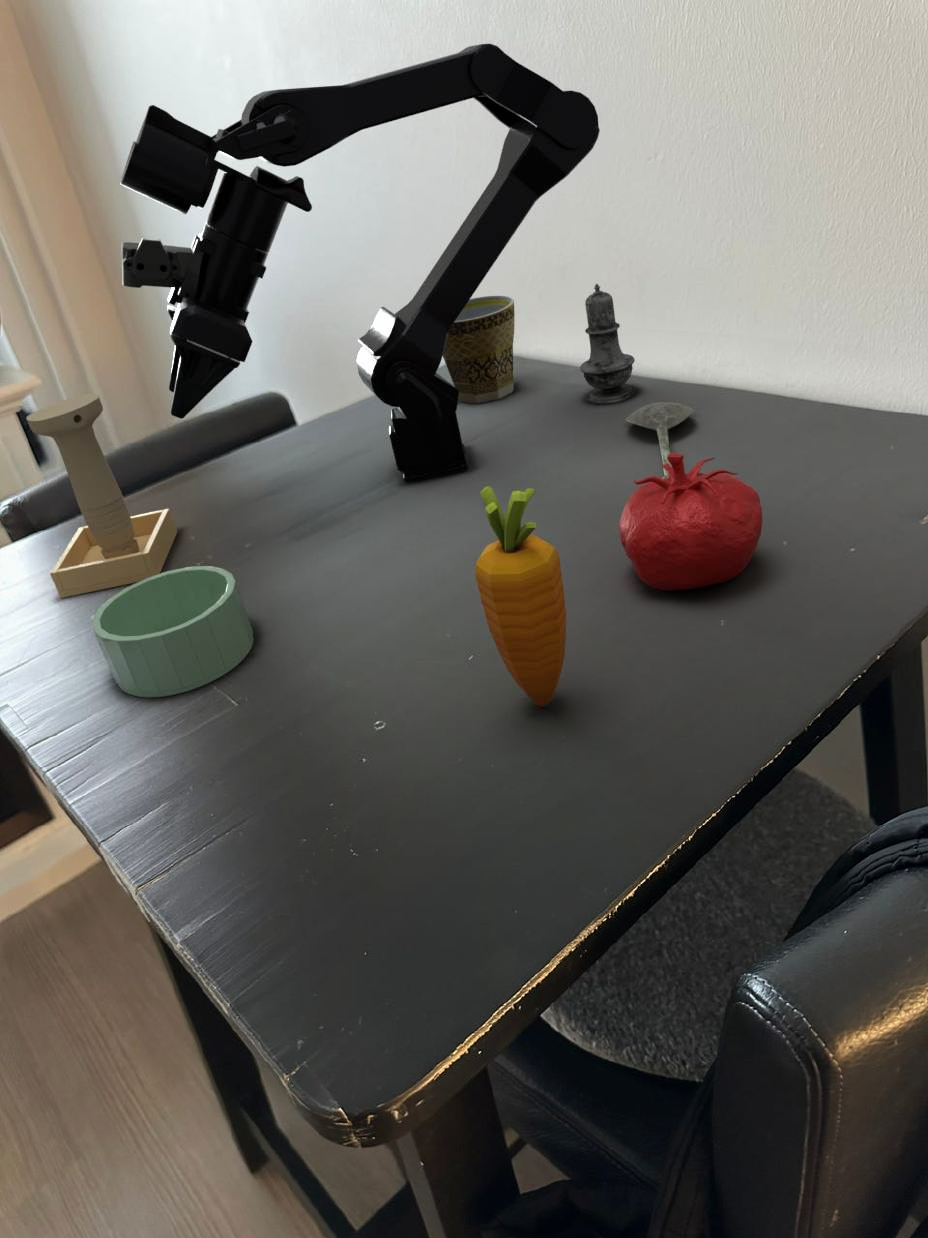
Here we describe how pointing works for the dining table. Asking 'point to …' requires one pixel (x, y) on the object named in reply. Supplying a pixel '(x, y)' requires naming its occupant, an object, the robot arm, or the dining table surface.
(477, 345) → the ceramic cup
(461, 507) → the dining table surface
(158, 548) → the tray
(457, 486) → the dining table surface
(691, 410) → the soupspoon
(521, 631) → the carrot
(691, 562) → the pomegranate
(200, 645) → the green bowl
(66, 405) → the handle
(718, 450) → the dining table surface
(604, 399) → the salt shaker
